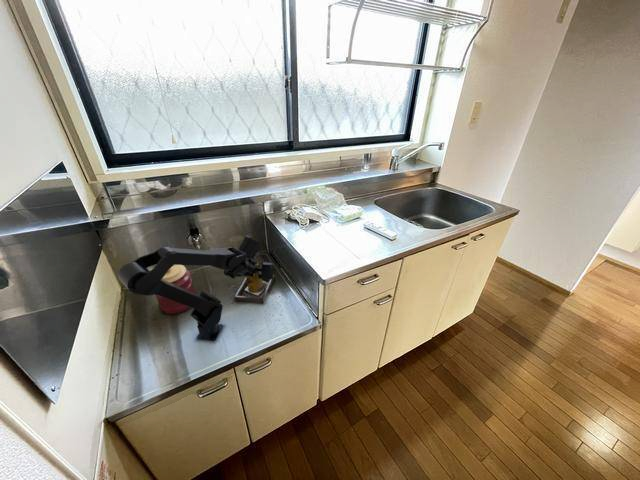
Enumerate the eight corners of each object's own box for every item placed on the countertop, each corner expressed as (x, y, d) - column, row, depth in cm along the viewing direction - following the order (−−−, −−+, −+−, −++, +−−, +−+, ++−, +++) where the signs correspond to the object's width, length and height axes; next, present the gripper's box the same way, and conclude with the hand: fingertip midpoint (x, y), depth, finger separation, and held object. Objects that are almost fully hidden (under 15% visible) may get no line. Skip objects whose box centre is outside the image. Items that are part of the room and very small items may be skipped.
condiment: (243, 290, 107) (239, 267, 101) (256, 278, 114) (253, 256, 108) (257, 296, 105) (254, 272, 99) (270, 283, 111) (268, 261, 105)
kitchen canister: (201, 304, 100) (190, 267, 91) (165, 320, 93) (149, 282, 84) (191, 286, 109) (180, 251, 100) (156, 300, 102) (141, 263, 93)
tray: (263, 303, 101) (262, 299, 100) (235, 300, 102) (234, 296, 101) (274, 278, 114) (274, 274, 113) (249, 276, 116) (248, 272, 114)
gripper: (271, 246, 93) (280, 254, 109) (221, 242, 95) (237, 251, 110) (266, 277, 91) (277, 281, 106) (215, 272, 92) (233, 277, 108)
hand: (256, 272), depth 107 cm, fingers closed on condiment, 6 cm apart
